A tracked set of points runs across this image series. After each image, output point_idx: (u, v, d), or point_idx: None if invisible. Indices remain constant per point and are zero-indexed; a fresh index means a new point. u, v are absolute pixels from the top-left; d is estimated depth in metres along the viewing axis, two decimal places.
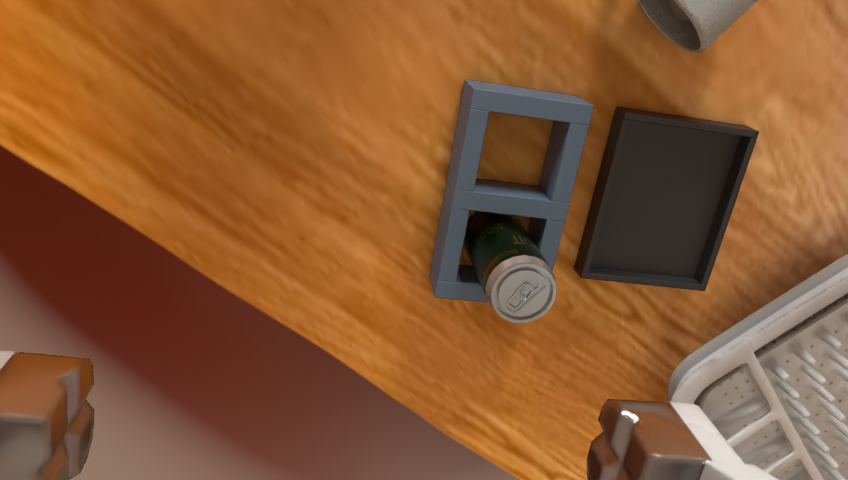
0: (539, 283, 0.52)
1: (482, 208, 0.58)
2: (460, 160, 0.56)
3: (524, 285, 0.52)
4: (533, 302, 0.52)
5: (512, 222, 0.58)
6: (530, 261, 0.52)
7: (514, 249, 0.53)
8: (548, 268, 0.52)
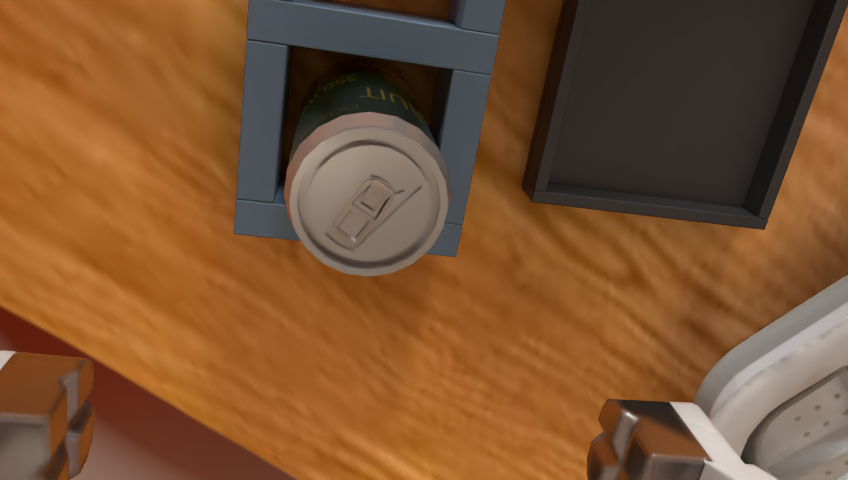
0: (406, 180, 0.22)
1: (314, 41, 0.27)
2: None
3: (370, 183, 0.22)
4: (394, 226, 0.22)
5: (381, 75, 0.28)
6: (382, 125, 0.21)
7: (354, 104, 0.23)
8: (429, 145, 0.22)
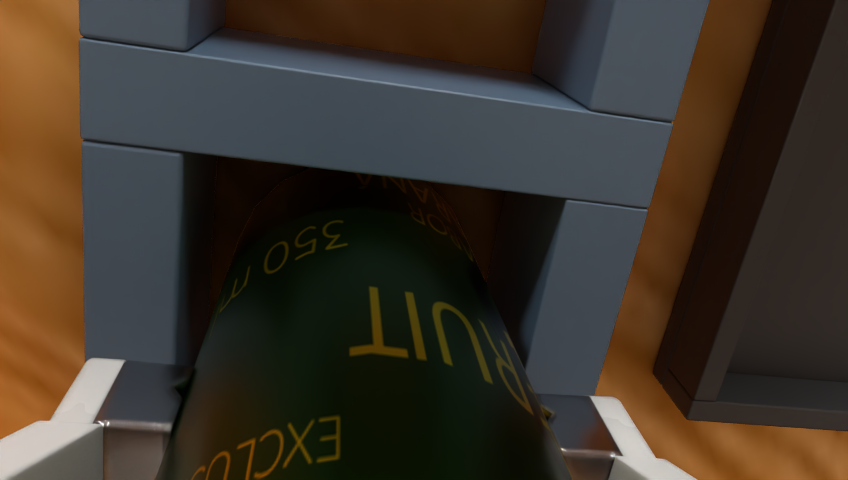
0: None
1: (246, 144, 0.12)
2: None
3: None
4: None
5: (403, 215, 0.12)
6: None
7: (330, 413, 0.07)
8: None
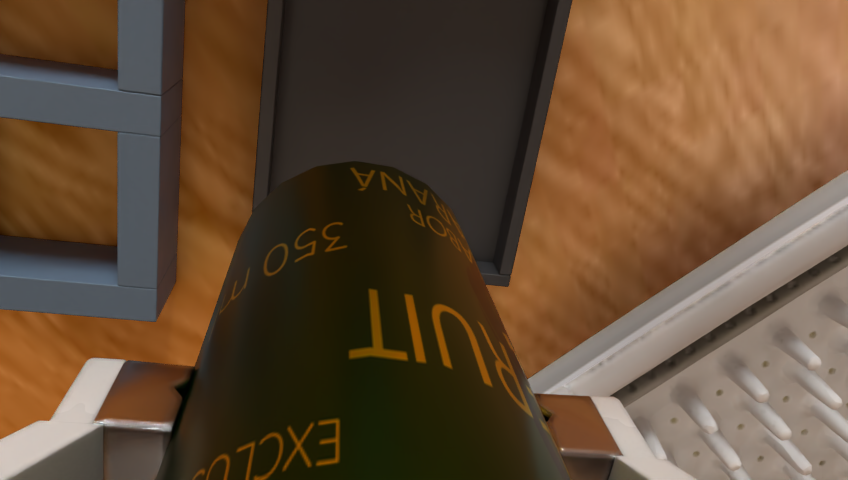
0: None
1: None
2: None
3: None
4: None
5: (403, 217, 0.12)
6: None
7: (329, 415, 0.07)
8: None
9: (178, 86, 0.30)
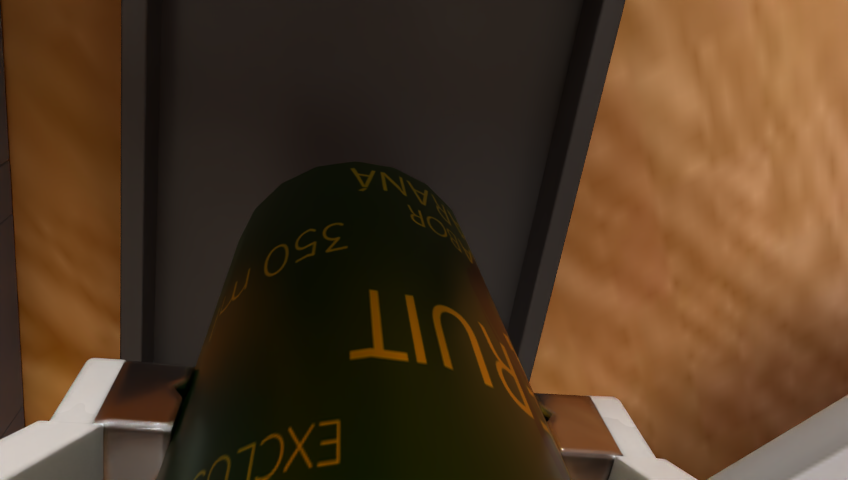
0: None
1: None
2: None
3: None
4: None
5: (403, 217, 0.12)
6: None
7: (330, 416, 0.07)
8: None
9: None
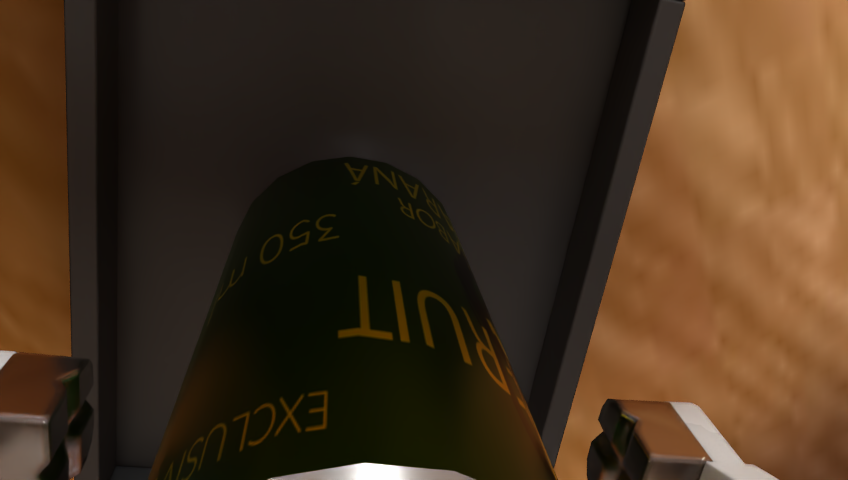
0: None
1: None
2: None
3: None
4: None
5: (393, 209, 0.13)
6: None
7: (318, 388, 0.08)
8: None
9: None
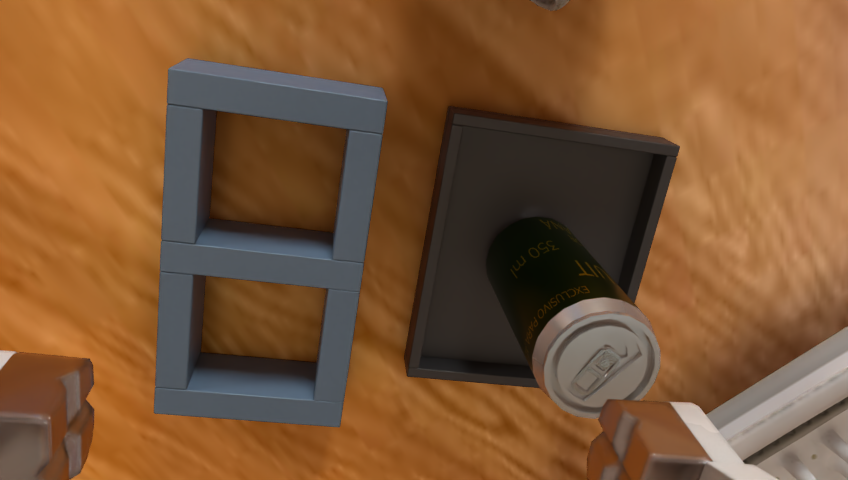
0: (630, 349, 0.29)
1: (214, 272, 0.35)
2: (164, 192, 0.33)
3: (604, 351, 0.29)
4: (618, 382, 0.29)
5: (569, 239, 0.35)
6: (615, 309, 0.28)
7: (582, 285, 0.30)
8: (645, 321, 0.29)
9: None
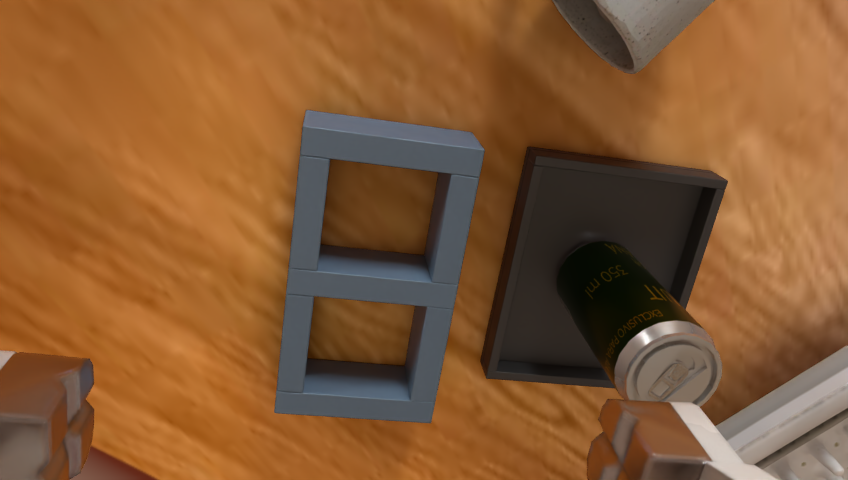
0: (696, 363, 0.35)
1: (332, 293, 0.40)
2: (293, 228, 0.39)
3: (676, 365, 0.35)
4: (686, 390, 0.35)
5: (634, 263, 0.41)
6: (685, 330, 0.34)
7: (655, 309, 0.36)
8: (709, 339, 0.35)
9: None
